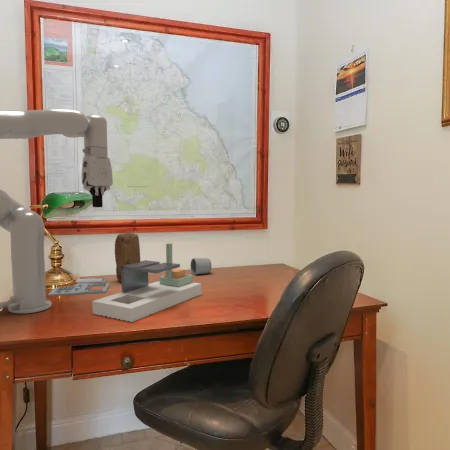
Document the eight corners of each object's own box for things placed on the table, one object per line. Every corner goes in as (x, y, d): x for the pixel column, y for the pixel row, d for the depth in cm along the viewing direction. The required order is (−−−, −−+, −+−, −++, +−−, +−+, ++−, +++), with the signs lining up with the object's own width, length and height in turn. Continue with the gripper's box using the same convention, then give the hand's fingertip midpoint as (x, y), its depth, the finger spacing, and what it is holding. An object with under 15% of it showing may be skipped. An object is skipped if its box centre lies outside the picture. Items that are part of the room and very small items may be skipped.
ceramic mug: (212, 274, 184) (212, 258, 183) (196, 276, 180) (196, 259, 180) (203, 270, 193) (202, 255, 192) (187, 272, 189) (187, 256, 189)
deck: (131, 322, 118) (131, 308, 118) (92, 313, 126) (92, 301, 126) (201, 294, 149) (201, 283, 149) (166, 289, 157) (166, 278, 157)
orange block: (176, 285, 145) (176, 271, 145) (165, 284, 148) (165, 270, 147) (185, 283, 149) (185, 269, 149) (174, 281, 152) (174, 268, 152)
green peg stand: (178, 286, 143) (177, 244, 142) (158, 284, 147) (158, 243, 146) (193, 281, 151) (192, 241, 149) (174, 279, 155) (173, 240, 154)
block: (142, 282, 168) (141, 234, 167) (125, 285, 163) (124, 235, 162) (129, 278, 177) (128, 231, 175) (113, 280, 172) (111, 233, 170)
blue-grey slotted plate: (62, 277, 170) (112, 275, 173) (63, 283, 170) (112, 281, 173) (47, 290, 147) (105, 288, 150) (47, 297, 147) (105, 295, 150)
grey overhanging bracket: (157, 298, 128) (156, 270, 128) (121, 292, 136) (121, 265, 135) (180, 290, 139) (179, 264, 138) (146, 285, 146) (145, 260, 145)
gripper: (86, 151, 132) (87, 208, 133) (120, 154, 144) (121, 206, 146) (70, 152, 135) (72, 207, 137) (105, 155, 148) (106, 206, 150)
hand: (97, 207), depth 141 cm, fingers closed
